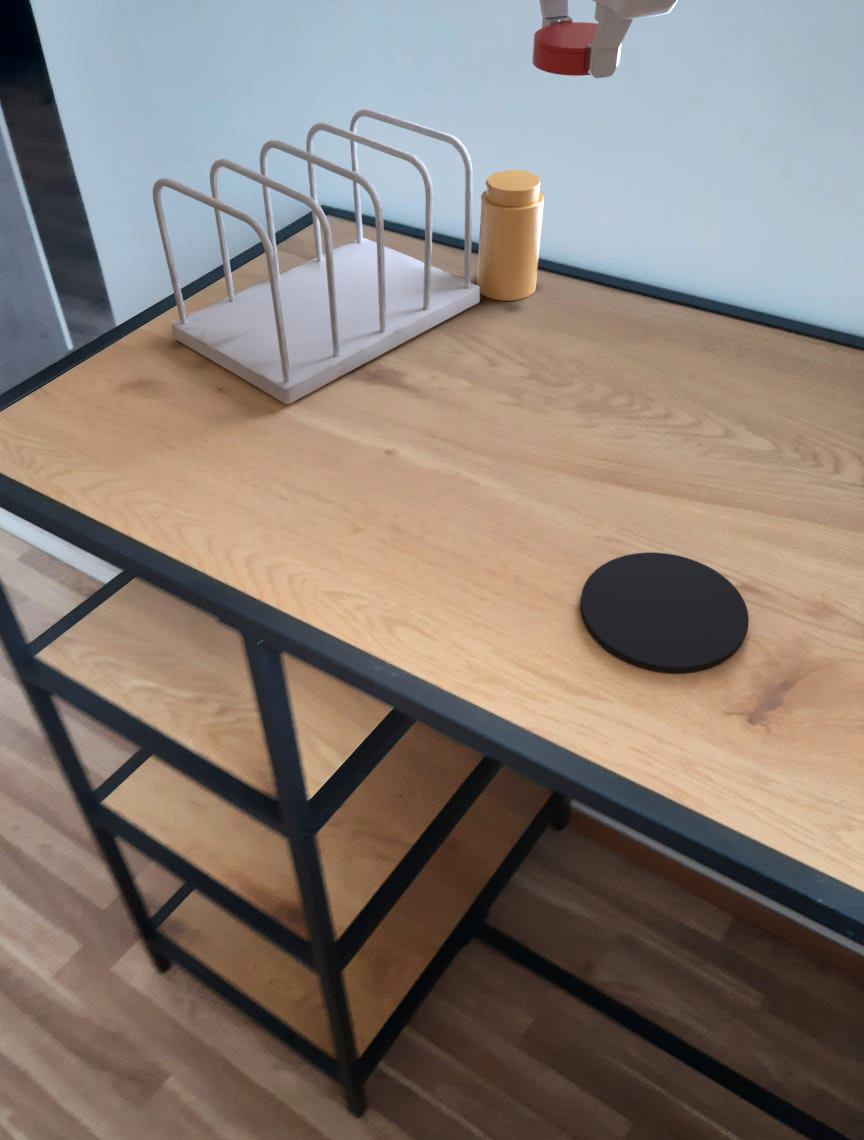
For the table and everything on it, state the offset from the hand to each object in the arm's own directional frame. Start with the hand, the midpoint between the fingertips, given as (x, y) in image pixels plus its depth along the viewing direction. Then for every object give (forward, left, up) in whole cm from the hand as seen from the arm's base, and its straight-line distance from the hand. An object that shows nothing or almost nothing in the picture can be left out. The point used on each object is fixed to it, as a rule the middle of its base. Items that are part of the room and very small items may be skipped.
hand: (576, 59), depth 68 cm
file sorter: (+17, -14, -25) cm, 33 cm away
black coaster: (+6, +32, -24) cm, 41 cm away
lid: (0, 0, +1) cm, 1 cm away
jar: (-2, -15, -24) cm, 29 cm away
